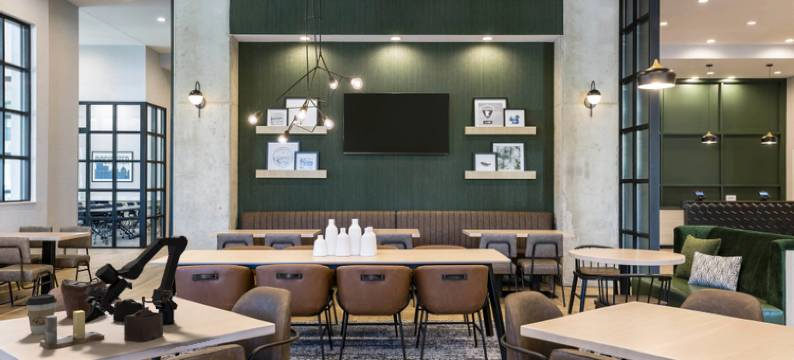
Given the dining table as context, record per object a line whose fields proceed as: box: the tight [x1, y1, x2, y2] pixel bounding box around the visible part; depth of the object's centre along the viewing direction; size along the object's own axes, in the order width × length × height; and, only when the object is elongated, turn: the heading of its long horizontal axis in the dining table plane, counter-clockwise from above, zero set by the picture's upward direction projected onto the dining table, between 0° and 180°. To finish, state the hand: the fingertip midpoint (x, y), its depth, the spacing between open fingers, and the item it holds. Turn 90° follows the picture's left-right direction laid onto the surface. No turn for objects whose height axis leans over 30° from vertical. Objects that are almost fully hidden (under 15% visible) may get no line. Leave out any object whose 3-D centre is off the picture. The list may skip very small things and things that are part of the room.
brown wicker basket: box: [60, 277, 108, 319], centre depth 267 cm, size 18×20×18 cm
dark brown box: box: [123, 290, 173, 343], centre depth 225 cm, size 16×11×18 cm
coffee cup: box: [25, 293, 58, 335], centre depth 234 cm, size 11×11×15 cm
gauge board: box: [39, 314, 105, 350], centre depth 218 cm, size 20×10×12 cm, turn 137°
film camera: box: [112, 298, 150, 323], centre depth 255 cm, size 18×12×10 cm
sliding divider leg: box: [72, 310, 86, 339], centre depth 219 cm, size 3×8×10 cm, turn 47°
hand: (83, 323), depth 219 cm, fingers closed, pressing on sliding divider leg
